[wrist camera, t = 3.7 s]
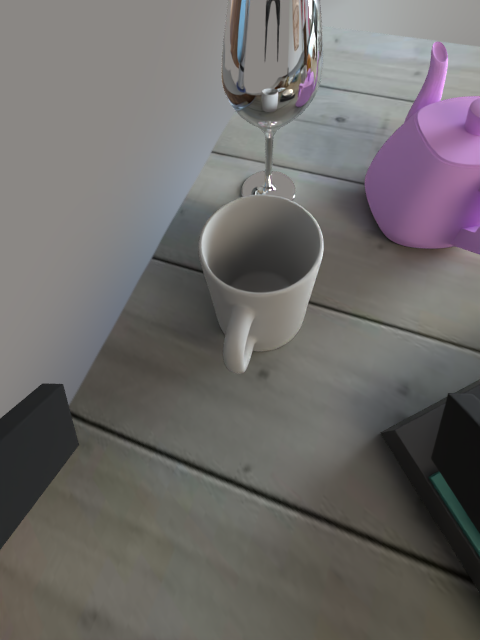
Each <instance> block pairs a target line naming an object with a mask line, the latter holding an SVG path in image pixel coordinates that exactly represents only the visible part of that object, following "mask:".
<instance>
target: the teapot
mask: <svg viewBox="0 0 480 640" xmlns="http://www.w3.org/2000/svg"><path fill="white" fill-rule="evenodd" d="M447 65H448V55H447V51H446V48H445V46H444V45H443V44H442V43H441V42H435V43H434V44H433V46H432V51H431V61H430V67H429V71H428V75H427V77H426V80H425V82H424V84H423V86H422V89H421V91H420V92H419V94H418V96H417V98H416V100H415V102H414V103H413V105H412V107H411V109H410V111H409V113H408V115H407V117H406V119H405V122H404V124H403V125H402V126H401V127H400V128H398V129H397V130H396V131H395V132H394V133H393V135H392V136H391V137H390V138H389V139H388V140H387V141H386V142H385V143H384V145H383V146H382V147H381V149H380V150H379V151H378V153H377V154H376V156H375V157H374V159H373V161H372V163H371V165H370V167H369V169H368V171H367V174H366V177H365V191H366V196H367V200H368V203H369V206H370V209H371V212H372V214H373V216H374V218H375V220H376V222H377V224H378V226H379V227H380V229H381V230H382V232H383V233H384V235H385V236H386V237H387V238H389V239H390V240H391V241H393V242H395V243H397V244H400V245H403V246H407V247H413V248H428V249H431V248H446V247H453V246H457V247H459V248H462V249H465V250H468V251H471V252H474V253H477V254H480V96H469V97H457V98H451V99H446V100H442V101H441V96H442V92H443V87H444V83H445V78H446V72H447Z"/></svg>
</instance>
